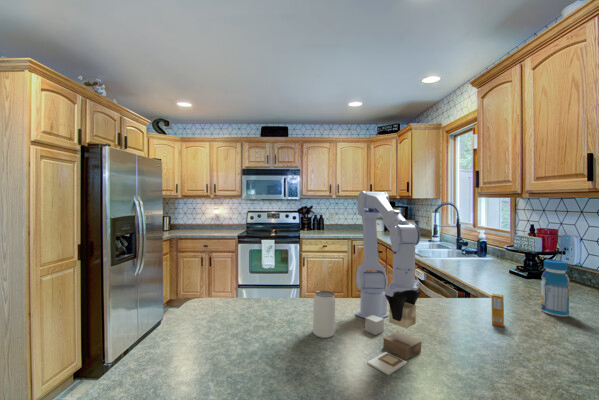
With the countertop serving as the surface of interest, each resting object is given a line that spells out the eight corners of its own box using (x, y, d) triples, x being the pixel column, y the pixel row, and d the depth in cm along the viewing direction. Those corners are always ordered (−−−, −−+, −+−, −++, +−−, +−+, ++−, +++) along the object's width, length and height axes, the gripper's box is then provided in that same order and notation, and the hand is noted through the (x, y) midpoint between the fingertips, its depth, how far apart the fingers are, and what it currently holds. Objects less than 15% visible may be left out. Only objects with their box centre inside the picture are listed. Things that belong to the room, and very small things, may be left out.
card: (385, 353, 75) (385, 351, 75) (406, 363, 71) (406, 361, 71) (367, 363, 70) (367, 361, 70) (388, 375, 66) (388, 372, 66)
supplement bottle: (554, 317, 105) (555, 263, 106) (534, 308, 114) (535, 258, 114) (576, 317, 106) (577, 263, 106) (554, 309, 114) (555, 259, 114)
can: (316, 339, 82) (318, 297, 82) (310, 329, 88) (311, 290, 88) (337, 337, 83) (339, 296, 84) (329, 328, 90) (330, 289, 90)
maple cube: (398, 317, 82) (399, 300, 82) (415, 323, 78) (415, 305, 78) (389, 322, 79) (389, 303, 79) (405, 328, 75) (406, 309, 75)
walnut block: (398, 341, 83) (398, 331, 83) (420, 352, 77) (421, 341, 77) (383, 348, 78) (383, 337, 78) (406, 360, 73) (406, 348, 73)
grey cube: (372, 327, 92) (373, 314, 92) (383, 331, 88) (383, 318, 88) (365, 330, 89) (365, 317, 89) (376, 335, 86) (376, 322, 86)
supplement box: (491, 321, 99) (492, 292, 99) (504, 324, 97) (504, 294, 97) (490, 324, 97) (491, 294, 97) (503, 327, 94) (503, 297, 95)
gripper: (402, 274, 71) (401, 329, 71) (430, 267, 80) (429, 316, 80) (378, 269, 76) (377, 319, 76) (407, 263, 86) (405, 308, 85)
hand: (402, 317), depth 78 cm, fingers closed on maple cube, 5 cm apart
